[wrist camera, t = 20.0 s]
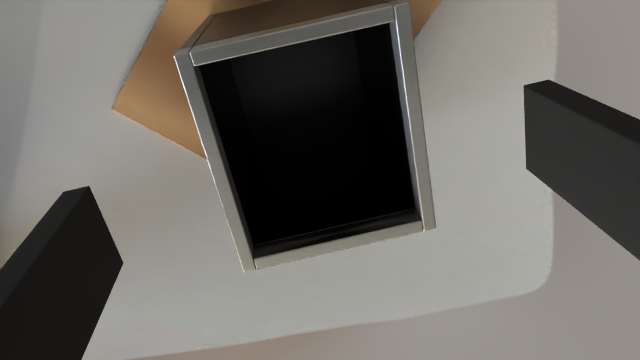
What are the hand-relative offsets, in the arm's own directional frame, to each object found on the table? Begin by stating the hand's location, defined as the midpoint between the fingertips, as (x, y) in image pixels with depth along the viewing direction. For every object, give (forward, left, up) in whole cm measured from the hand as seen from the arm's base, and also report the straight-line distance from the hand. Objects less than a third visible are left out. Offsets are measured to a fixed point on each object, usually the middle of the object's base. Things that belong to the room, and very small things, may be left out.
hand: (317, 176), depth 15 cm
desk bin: (-4, -5, -12) cm, 14 cm away
